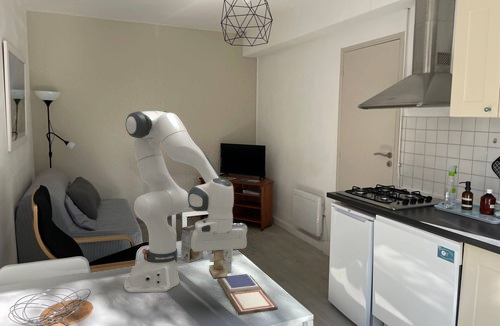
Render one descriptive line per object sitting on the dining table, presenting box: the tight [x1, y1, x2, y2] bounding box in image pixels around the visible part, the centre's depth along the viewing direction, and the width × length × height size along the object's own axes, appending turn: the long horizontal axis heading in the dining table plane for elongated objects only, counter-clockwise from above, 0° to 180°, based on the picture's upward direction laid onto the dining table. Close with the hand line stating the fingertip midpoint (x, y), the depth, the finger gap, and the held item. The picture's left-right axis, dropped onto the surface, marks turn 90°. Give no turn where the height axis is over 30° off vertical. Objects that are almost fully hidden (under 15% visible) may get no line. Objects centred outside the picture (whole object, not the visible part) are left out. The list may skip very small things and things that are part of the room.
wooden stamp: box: [208, 250, 228, 280], centre depth 140 cm, size 5×7×9 cm
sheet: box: [231, 290, 274, 311], centre depth 145 cm, size 13×14×1 cm
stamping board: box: [216, 274, 279, 316], centre depth 152 cm, size 15×30×1 cm, turn 19°
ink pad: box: [222, 273, 260, 292], centre depth 159 cm, size 12×13×2 cm
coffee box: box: [180, 223, 204, 263], centre depth 188 cm, size 9×6×16 cm
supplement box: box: [223, 249, 233, 274], centre depth 175 cm, size 7×7×13 cm
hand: (218, 261), depth 139 cm, fingers closed on wooden stamp, 3 cm apart
